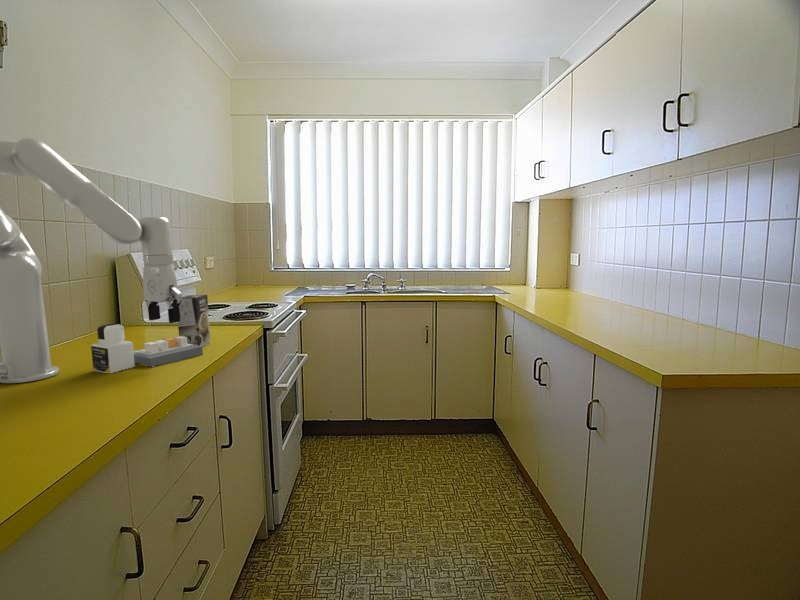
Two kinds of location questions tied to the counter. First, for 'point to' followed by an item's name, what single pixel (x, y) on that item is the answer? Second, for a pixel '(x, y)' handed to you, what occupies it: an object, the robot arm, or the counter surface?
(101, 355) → the medicine bottle
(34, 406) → the counter surface
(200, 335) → the coffee box
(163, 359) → the breaker panel
